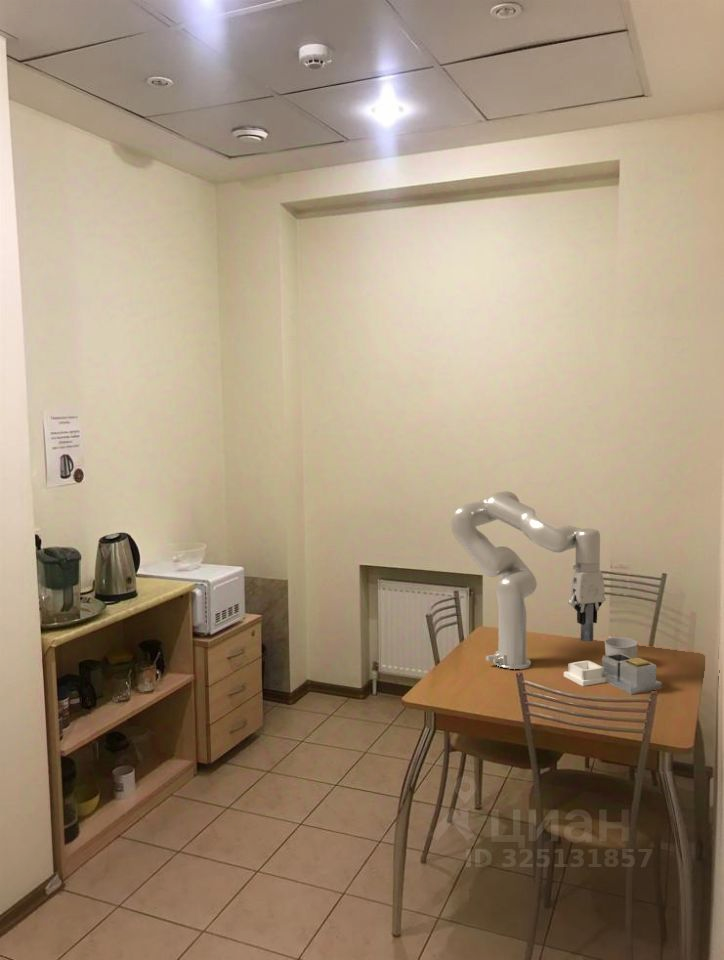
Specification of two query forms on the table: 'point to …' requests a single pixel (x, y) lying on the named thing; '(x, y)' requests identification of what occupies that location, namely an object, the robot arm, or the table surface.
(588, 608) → the blue-grey cylinder
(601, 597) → the robot arm
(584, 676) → the white square socket
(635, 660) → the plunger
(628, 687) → the block
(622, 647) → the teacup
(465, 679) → the table surface
